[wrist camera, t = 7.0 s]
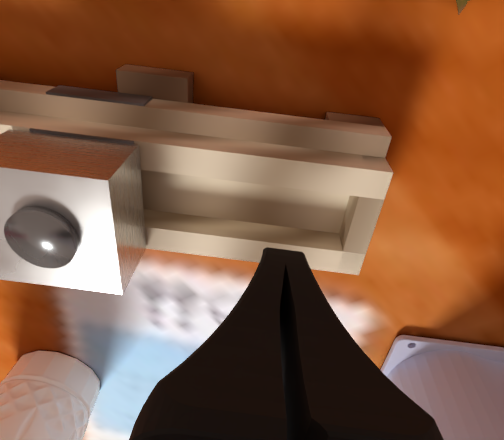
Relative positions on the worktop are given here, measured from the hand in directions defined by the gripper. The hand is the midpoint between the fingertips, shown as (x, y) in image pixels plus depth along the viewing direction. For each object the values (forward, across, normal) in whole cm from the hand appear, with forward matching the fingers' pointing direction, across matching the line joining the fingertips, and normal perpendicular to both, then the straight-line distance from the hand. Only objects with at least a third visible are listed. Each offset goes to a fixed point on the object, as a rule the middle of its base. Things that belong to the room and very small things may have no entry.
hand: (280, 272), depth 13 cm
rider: (+5, +8, 0) cm, 10 cm away
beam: (+7, +6, 0) cm, 9 cm away
